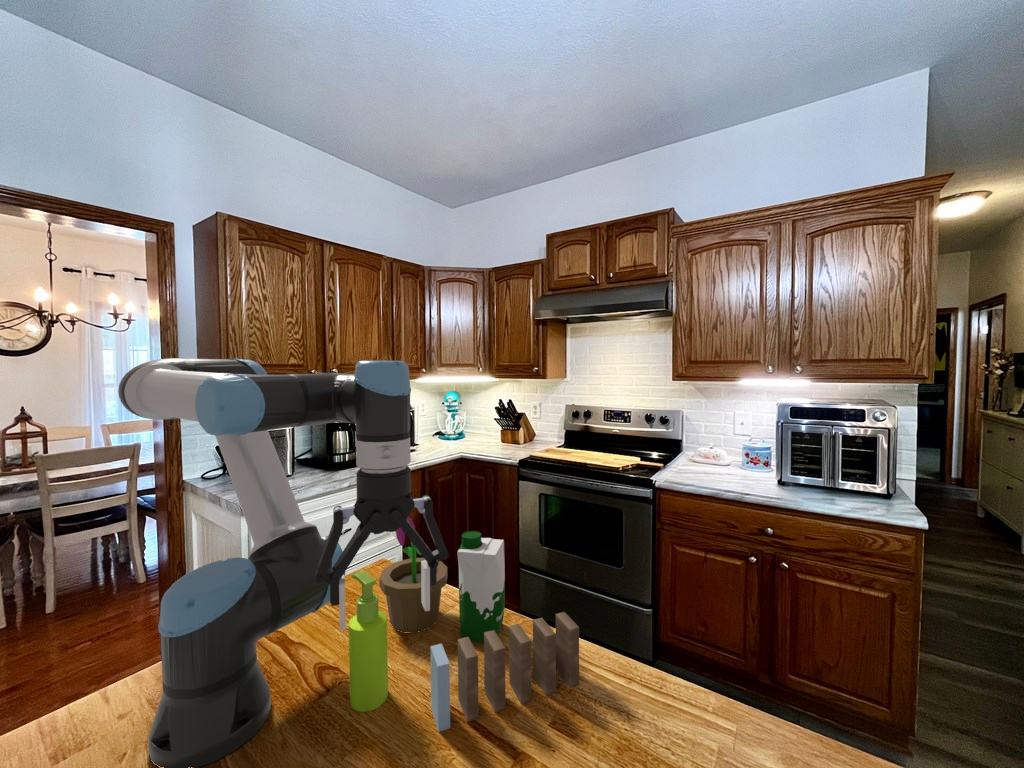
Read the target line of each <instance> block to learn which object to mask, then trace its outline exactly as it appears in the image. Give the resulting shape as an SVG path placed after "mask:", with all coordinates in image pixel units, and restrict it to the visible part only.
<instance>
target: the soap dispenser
mask: <svg viewBox="0 0 1024 768" xmlns="http://www.w3.org/2000/svg"><path fill="white" fill-rule="evenodd" d="M351 578H352V579H355V580H356V581H358V583H359V584H361V595H359V597H358V598H356V614H355V615H353V616H352V617H351V618H350V619H349V621H348V655H349V656H348V659H349V663H348V664H349V698H350V699H349V703H350V706H351V708H352V709H353V710H355V711H357V712H371V711H373V710H376V709H378V708H380V707H381V706H382V705H383V704H384V703H385V702H386V700H387V698H388V696H389V684H388V683H389V679H388V677H389V676H388V675H389V673H388V620H387V619H388V618H387V614H386V613H385V612H384V611H382V610H379V609H380V607H379V595H378V594H376V593H374V591H373V590H374V589H373V587H374V585H376V584H377V579H376V578H375V577H374V576H372V575H371V573H369V572H367V571H365V570H364V571H363V570H360V571H359V572H355V573H352V574H351Z"/></svg>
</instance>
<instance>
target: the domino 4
mask: <svg viewBox="0 0 1024 768" xmlns="http://www.w3.org/2000/svg"><path fill="white" fill-rule="evenodd" d="M508 667H509V668H508V669H509V671H508V673H509V675H508V676H509V679H508V680H509V681H508V682H509V686H510V687H511V688H512V691H513V692H514V694H515V696H516V697H517V699H518V701H519V703H520V704H521V705H522V704H525V703H528V702H531V701H532V640H531V639H530V637H529V636H528V634H527V633H526V631H525V630H524V629H523V628H522V626H521V625H520V624H519V623H516V624H515V623H514V624H513V625H509V626H508Z"/></svg>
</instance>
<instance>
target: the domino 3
mask: <svg viewBox="0 0 1024 768" xmlns="http://www.w3.org/2000/svg"><path fill="white" fill-rule="evenodd" d="M483 663H484V664H483V665H484V667H483V669H484V671H483V672H484V673H483V674H484V675H483V676H484V677H483V678H484V680H483V681H484V682H483V683H484V692H485V695H486V697H487V700H488V701H489V704H490V706H491V708H492V710H493V712H494V713H499V712H501V711H505V710H506V699H507V698H506V647H505V645H504V644H503V642H502V640H501V639H500V637H499V634H498V635H497V634H496V632H495V631H494V630H492V631H488V632H484V642H483Z"/></svg>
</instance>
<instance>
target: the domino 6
mask: <svg viewBox="0 0 1024 768" xmlns="http://www.w3.org/2000/svg"><path fill="white" fill-rule="evenodd" d="M555 634H556V672H558V674H559V675H560V677H561V678H562V679H563V680H564V682H565V683H566V685H567V686H568V687H569V688H573V687H576V686H579V685H580V627H579V625H578V624H577V623H576V622H575V621H574V620H573V619H572V618H571V617H570V616H569V615H568V614H567V612H565V611H561V612H558V613H555Z"/></svg>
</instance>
